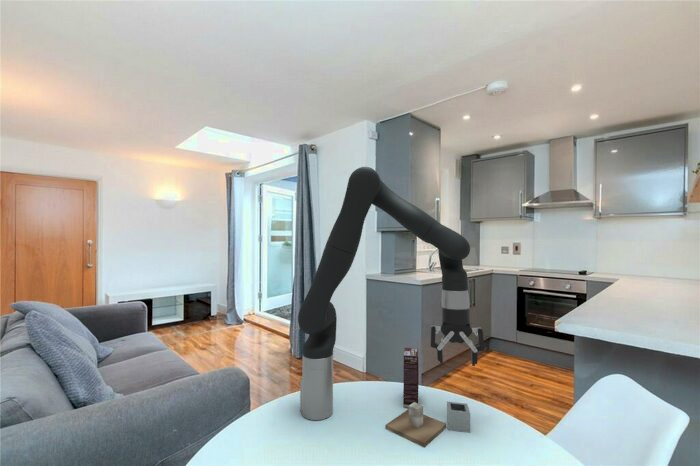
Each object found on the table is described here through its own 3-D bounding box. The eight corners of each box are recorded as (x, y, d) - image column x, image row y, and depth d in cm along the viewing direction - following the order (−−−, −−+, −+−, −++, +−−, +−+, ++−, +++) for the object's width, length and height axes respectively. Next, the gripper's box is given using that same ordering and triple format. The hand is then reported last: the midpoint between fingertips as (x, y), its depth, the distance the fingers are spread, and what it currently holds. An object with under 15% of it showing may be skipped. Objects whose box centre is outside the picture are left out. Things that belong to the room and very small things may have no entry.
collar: (448, 430, 86) (448, 411, 86) (446, 419, 92) (446, 401, 92) (470, 432, 85) (470, 413, 85) (467, 421, 90) (467, 403, 91)
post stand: (385, 428, 87) (385, 406, 87) (409, 412, 96) (409, 391, 96) (424, 447, 79) (424, 422, 79) (446, 427, 87) (446, 405, 88)
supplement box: (419, 409, 97) (418, 356, 98) (403, 407, 98) (402, 355, 99) (418, 396, 106) (418, 348, 106) (404, 395, 107) (403, 347, 107)
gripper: (429, 307, 88) (431, 366, 87) (484, 309, 85) (486, 371, 84) (429, 302, 96) (431, 357, 95) (480, 304, 92) (482, 361, 91)
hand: (457, 364), depth 89 cm, fingers open, 8 cm apart
